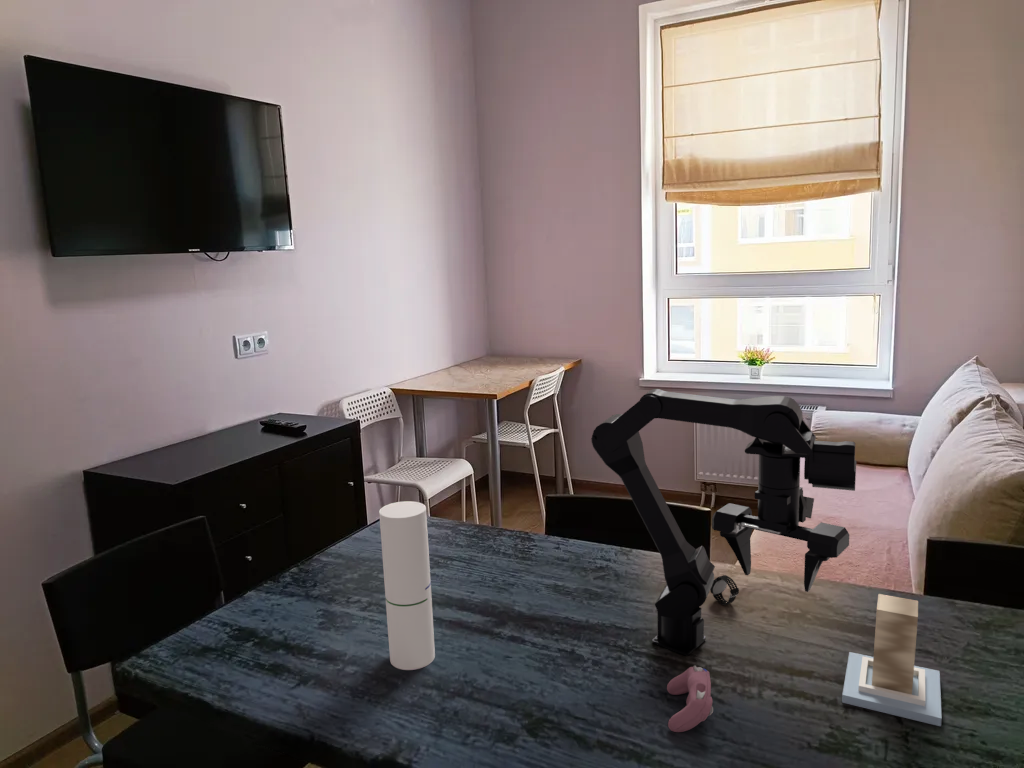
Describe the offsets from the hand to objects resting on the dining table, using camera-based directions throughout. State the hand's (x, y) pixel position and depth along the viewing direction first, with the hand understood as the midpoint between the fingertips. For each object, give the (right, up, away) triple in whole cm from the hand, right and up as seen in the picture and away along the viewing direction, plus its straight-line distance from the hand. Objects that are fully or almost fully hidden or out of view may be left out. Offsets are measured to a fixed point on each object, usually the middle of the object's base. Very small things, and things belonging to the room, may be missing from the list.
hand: (776, 582), depth 111 cm
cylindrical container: (-56, -14, +7) cm, 58 cm away
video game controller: (-15, -16, -9) cm, 24 cm away
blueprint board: (+14, -14, -6) cm, 21 cm away
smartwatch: (-2, -10, +21) cm, 23 cm away
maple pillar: (+14, -13, -6) cm, 20 cm away
